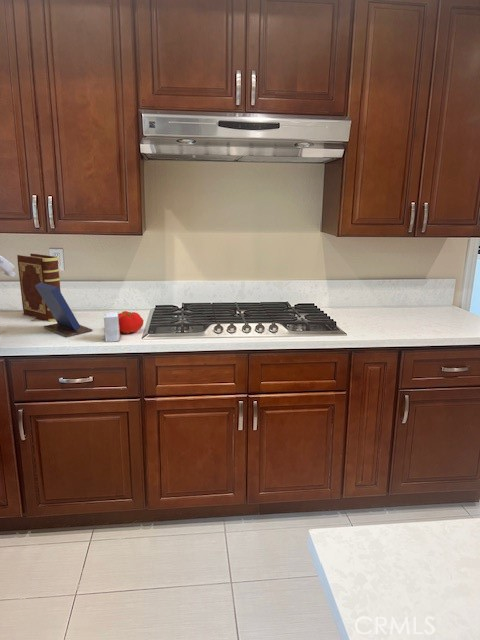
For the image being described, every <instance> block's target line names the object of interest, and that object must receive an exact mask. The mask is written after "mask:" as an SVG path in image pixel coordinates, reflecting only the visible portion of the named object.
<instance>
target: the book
mask: <svg viewBox="0 0 480 640" xmlns="http://www.w3.org/2000/svg"><path fill="white" fill-rule="evenodd" d="M35 287H36V289H37V291H38V292H39V294H40V295H41V297H42V299H43V300H44V302H45V304H46V305H47V307H48V309H49V310H50V312H51V313H52V315H53V317H54V318H55V320H56V321H55V323H56V324H57V323H58V325H61V326H64V327H66V328H69V329H71V330H74V331H76V330H78V329H79V328H80V327H81V326H82V325H81V324H80V323H79V321H78V319H77V318H76V316H75V314H74V312H73V311H72V309H71V307H70V306H69V304H68V302H67V301H66V299H65V297H64V296H63V294H62V291H61V292H60V290H61V289H60V290H59V289H58V287H56V286H52V285H49V284H45V283H42V282H40V283H38V284H37V285H35ZM80 325H81V326H80Z"/></svg>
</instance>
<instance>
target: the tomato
mask: <svg viewBox="0 0 480 640" xmlns="http://www.w3.org/2000/svg"><path fill="white" fill-rule="evenodd" d="M118 313H119V332H120V333H123V334H129V333H137V332H138V331H139V330H141V329H142V327H144V319H143V317H141V314H139V312H134V311H127V310H123V311H121V312H118Z"/></svg>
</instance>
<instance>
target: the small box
mask: <svg viewBox="0 0 480 640" xmlns="http://www.w3.org/2000/svg"><path fill="white" fill-rule="evenodd" d="M119 313H120V312H105V313H104V316H103V325H104V327H103V328H104V338H105V339H104V341H105V342H106V343H109V342H120V338H121V334H120V333H121V331H119Z"/></svg>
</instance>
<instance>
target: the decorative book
mask: <svg viewBox="0 0 480 640" xmlns="http://www.w3.org/2000/svg"><path fill="white" fill-rule="evenodd" d="M16 256H17V268H18V278H19V285H20V286H19V287H20V295H21V302H22V311H23V315H24V316H28V317H32V318H35V319H36V320H41V321H46V322H51V323H52V322H56V320H55V318H54V317H53V315H52V313H51V312H50V310H49V309H48V307H47V305H46V304H45V302H44V300H43V299H42V297H41V295H40V294H39V292H38V291H37V289H36V287H35V285H37V284H38V283H40V282H42V283H45V284H49V285H52V286H56V287H58V289H59V290H60V292H61V293H62V291H61V282H60V281H61V277H60V270H61V269H60V268H59V261H60V258H59V256H54V255H47V254H39V253H30V256H29V255H28V256H27V255H20V254H17V255H16Z"/></svg>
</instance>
